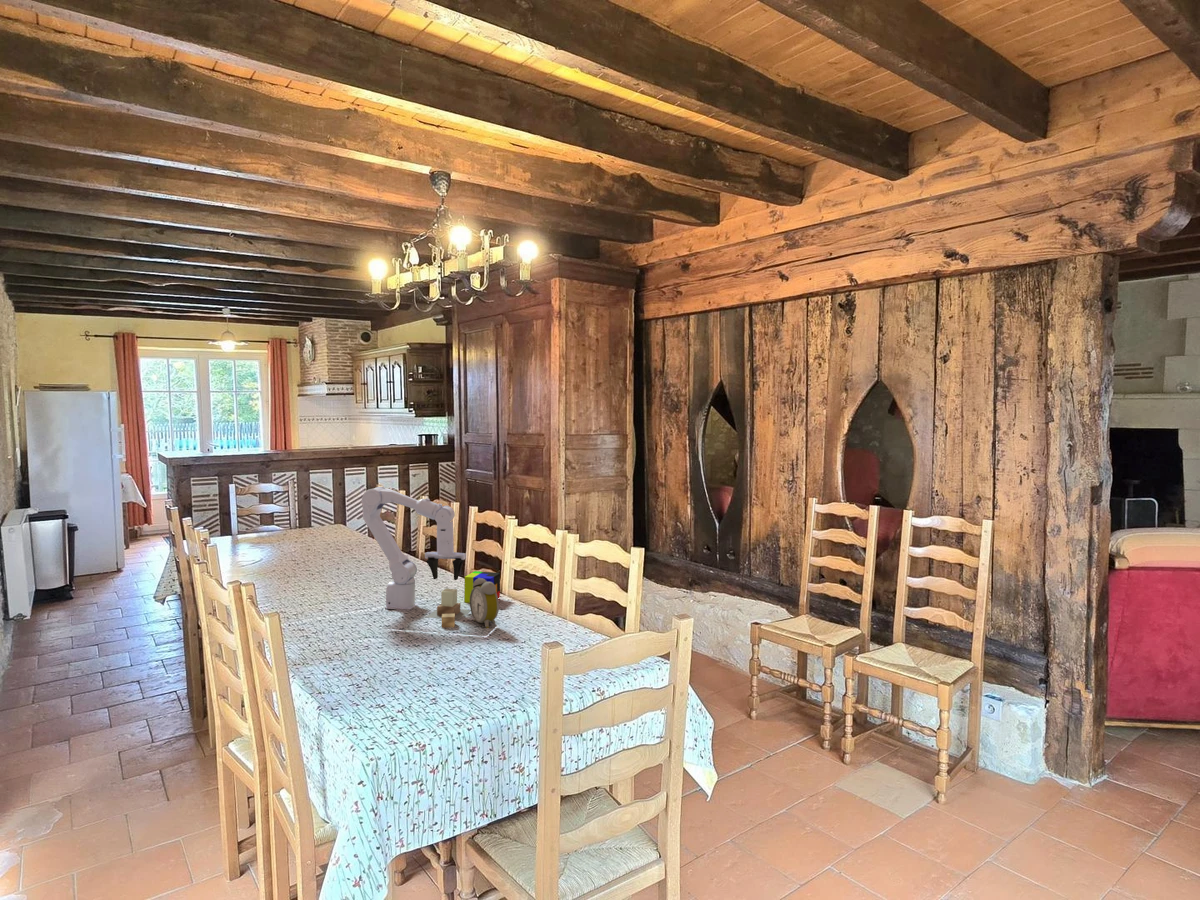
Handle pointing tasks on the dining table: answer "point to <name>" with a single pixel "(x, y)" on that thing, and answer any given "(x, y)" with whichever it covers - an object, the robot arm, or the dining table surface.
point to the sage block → (449, 597)
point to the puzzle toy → (487, 576)
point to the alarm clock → (484, 601)
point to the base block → (448, 609)
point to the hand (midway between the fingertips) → (445, 579)
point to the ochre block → (448, 620)
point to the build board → (457, 617)
